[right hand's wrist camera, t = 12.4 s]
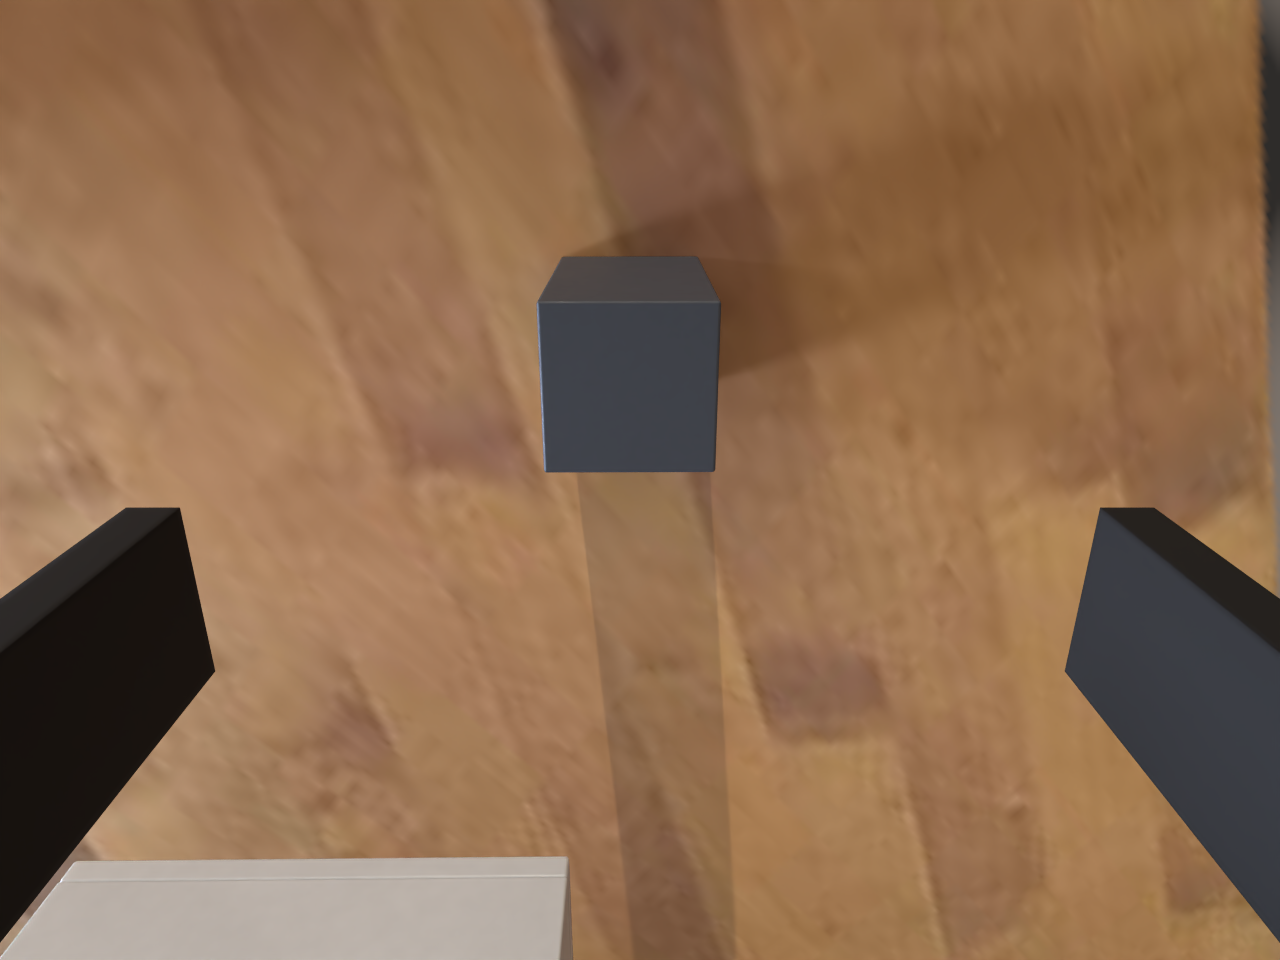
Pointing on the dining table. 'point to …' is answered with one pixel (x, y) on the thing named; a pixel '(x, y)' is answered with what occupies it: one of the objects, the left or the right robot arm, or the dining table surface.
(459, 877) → the grey tray
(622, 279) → the slate block
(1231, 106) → the dining table surface
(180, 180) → the dining table surface
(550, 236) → the dining table surface
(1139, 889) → the dining table surface
